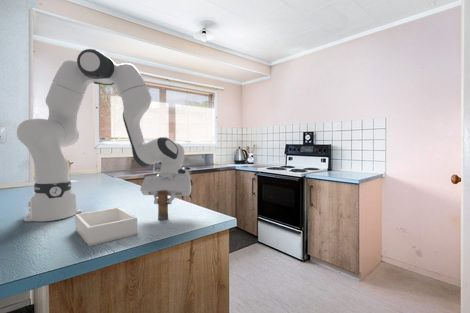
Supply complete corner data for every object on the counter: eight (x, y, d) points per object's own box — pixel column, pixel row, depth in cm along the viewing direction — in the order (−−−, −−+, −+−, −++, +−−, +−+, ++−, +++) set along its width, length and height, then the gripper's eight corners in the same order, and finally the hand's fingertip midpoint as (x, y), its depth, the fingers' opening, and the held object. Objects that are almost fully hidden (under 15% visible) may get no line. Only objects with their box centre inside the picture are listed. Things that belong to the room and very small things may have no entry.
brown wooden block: (160, 217, 99) (159, 190, 98) (169, 217, 99) (169, 190, 98) (156, 220, 95) (156, 191, 94) (166, 220, 95) (166, 192, 94)
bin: (75, 230, 84) (75, 214, 83) (119, 221, 93) (118, 207, 93) (88, 246, 70) (88, 227, 70) (137, 234, 80) (137, 217, 80)
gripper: (143, 170, 103) (133, 198, 94) (191, 170, 102) (186, 199, 93) (147, 179, 108) (138, 207, 99) (194, 179, 107) (189, 207, 98)
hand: (162, 203), depth 96 cm, fingers closed on brown wooden block, 4 cm apart
